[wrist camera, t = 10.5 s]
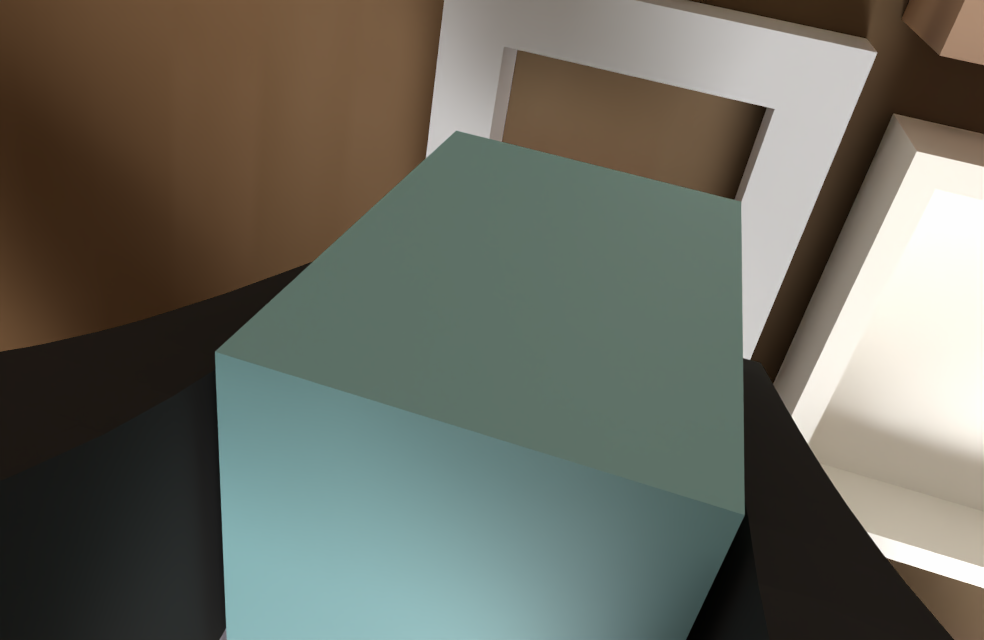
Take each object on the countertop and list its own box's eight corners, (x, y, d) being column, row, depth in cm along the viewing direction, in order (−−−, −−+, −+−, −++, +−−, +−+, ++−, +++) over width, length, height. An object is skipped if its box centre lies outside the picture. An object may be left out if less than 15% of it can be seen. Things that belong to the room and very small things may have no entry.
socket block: (732, 372, 17) (731, 403, 16) (426, 286, 18) (408, 310, 17) (867, 38, 13) (877, 52, 12) (469, -47, 14) (449, -40, 13)
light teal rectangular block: (659, 429, 12) (607, 808, 7) (424, 360, 13) (227, 665, 8) (741, 201, 10) (745, 514, 5) (456, 130, 11) (214, 351, 6)
